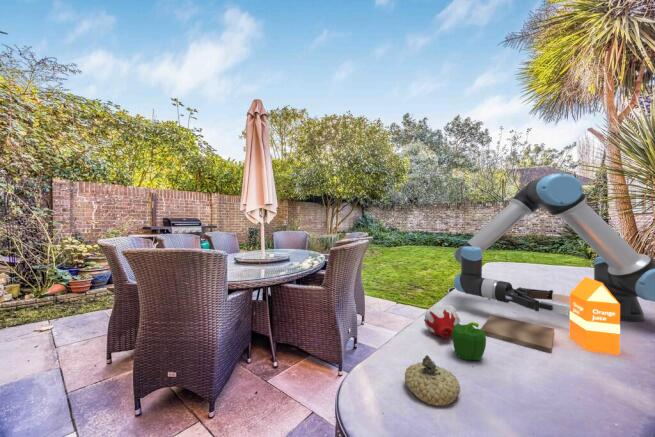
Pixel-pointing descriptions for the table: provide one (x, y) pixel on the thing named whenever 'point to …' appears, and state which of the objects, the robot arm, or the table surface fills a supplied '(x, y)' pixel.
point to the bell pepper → (469, 341)
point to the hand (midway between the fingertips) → (573, 305)
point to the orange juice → (594, 317)
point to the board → (519, 333)
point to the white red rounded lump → (441, 320)
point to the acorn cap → (432, 383)
